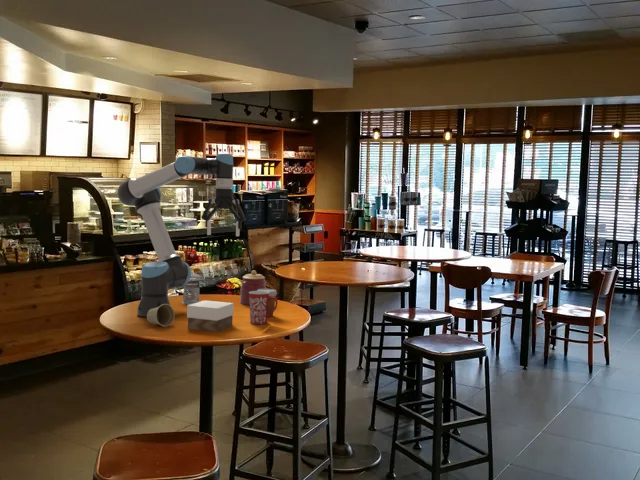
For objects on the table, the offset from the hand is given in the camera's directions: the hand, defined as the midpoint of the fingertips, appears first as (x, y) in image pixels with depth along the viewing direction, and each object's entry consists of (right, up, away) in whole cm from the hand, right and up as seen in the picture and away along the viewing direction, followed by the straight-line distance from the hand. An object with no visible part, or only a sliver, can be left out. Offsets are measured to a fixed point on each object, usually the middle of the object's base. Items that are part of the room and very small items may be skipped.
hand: (223, 235), depth 287 cm
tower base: (-2, -39, -22) cm, 44 cm away
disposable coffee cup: (+19, -37, +6) cm, 42 cm away
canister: (+10, -35, +33) cm, 49 cm away
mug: (+19, -38, -10) cm, 44 cm away
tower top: (-2, -34, -22) cm, 40 cm away
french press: (-22, -34, +32) cm, 52 cm away
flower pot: (-27, -34, -18) cm, 47 cm away
